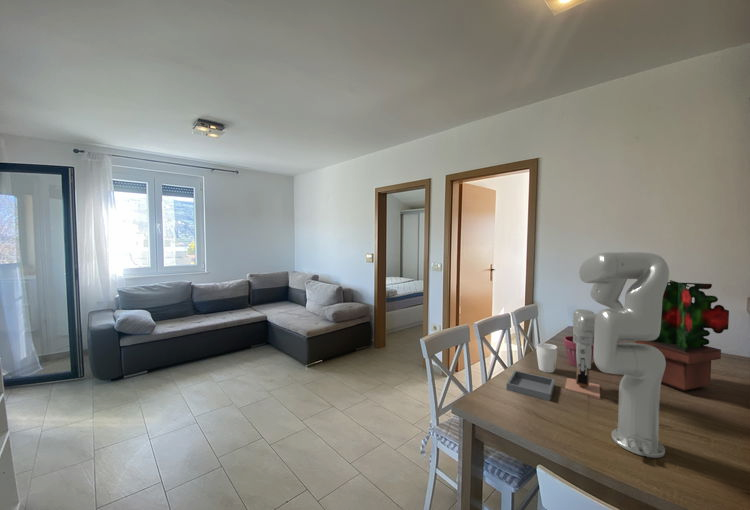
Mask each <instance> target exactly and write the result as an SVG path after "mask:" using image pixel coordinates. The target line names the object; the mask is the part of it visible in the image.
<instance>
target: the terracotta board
mask: <svg viewBox="0 0 750 510" xmlns="http://www.w3.org/2000/svg"><path fill="white" fill-rule="evenodd" d="M600 387H601V386H600V384H597V383H592V382H589V386H581V385H578V384H577V383H576V379H575V378H569V377H567V378H566V381H565V386H564V389H565V390H569V391H572V392H573V391H574V392H577V393H580V394H586V395H587V397H589V398H590V397H591V398H593V399H594V398H595V399H597V400H598V399H601V390H600V389H601V388H600Z"/></svg>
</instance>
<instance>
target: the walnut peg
mask: <svg viewBox="0 0 750 510" xmlns="http://www.w3.org/2000/svg"><path fill="white" fill-rule="evenodd" d="M580 366H581V365H580ZM584 367H586V366H584ZM580 369H581V368H580ZM584 370H585V369H584ZM578 373H579V367H578V366H577V367H576V379H575V380H576V383H577V384H578V385H581V386H589V383H590V369H589V368H587V384H581V383H578Z"/></svg>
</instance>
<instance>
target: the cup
mask: <svg viewBox="0 0 750 510" xmlns="http://www.w3.org/2000/svg"><path fill="white" fill-rule="evenodd" d="M557 357H558V346H557V345H555V344H551V343H547V342H538V343H537V344H536V358H537V364H538V370H540V372H541V371H542V372H543V373H554V372H555V370H556V363H557Z"/></svg>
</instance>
